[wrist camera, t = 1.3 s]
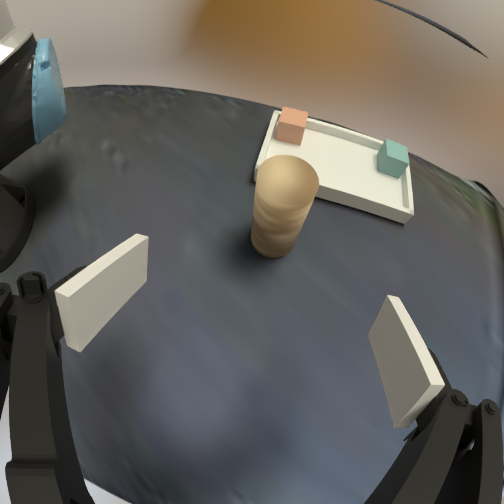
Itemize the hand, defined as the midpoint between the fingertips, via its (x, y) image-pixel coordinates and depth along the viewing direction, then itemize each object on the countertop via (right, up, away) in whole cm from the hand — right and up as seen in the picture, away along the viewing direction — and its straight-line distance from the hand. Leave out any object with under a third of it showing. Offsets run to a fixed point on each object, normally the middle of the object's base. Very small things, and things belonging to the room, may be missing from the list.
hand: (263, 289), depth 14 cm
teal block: (+19, +14, +22) cm, 32 cm away
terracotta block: (+5, +19, +23) cm, 30 cm away
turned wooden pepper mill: (+2, +4, +17) cm, 18 cm away
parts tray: (+11, +14, +22) cm, 28 cm away
